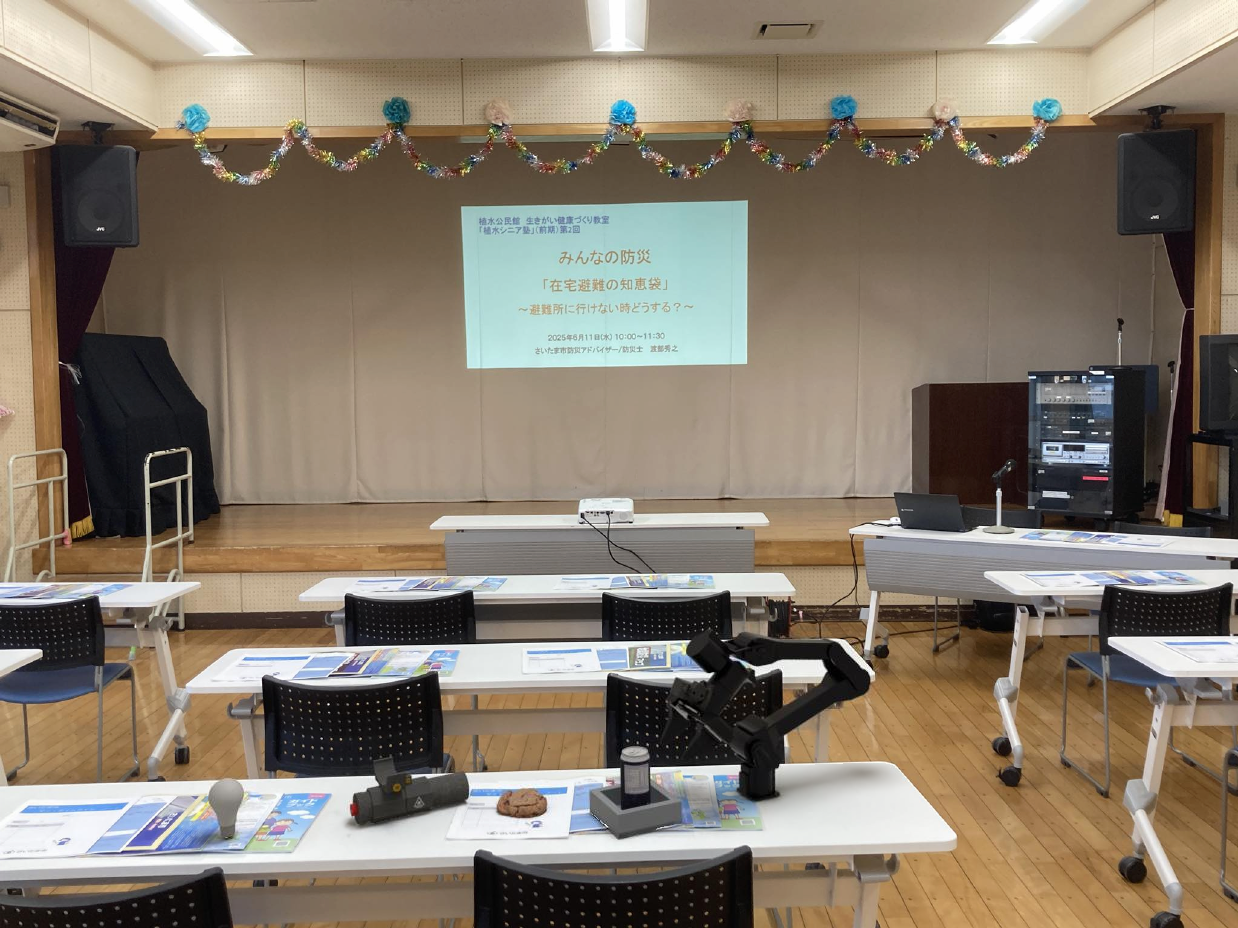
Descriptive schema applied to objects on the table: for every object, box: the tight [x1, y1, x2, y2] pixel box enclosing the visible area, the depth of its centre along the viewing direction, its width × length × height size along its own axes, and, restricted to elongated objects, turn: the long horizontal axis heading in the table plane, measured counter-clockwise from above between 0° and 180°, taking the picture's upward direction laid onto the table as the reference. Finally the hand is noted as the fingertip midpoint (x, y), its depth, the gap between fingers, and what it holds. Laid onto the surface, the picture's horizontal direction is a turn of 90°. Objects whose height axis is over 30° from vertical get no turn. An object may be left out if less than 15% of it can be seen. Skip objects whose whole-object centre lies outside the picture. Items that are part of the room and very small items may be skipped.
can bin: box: [589, 777, 683, 840], centre depth 183 cm, size 13×13×4 cm
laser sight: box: [349, 756, 470, 826], centre depth 188 cm, size 10×22×10 cm, turn 119°
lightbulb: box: [207, 777, 245, 838], centre depth 178 cm, size 6×6×11 cm
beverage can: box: [619, 746, 651, 810], centre depth 182 cm, size 6×6×12 cm
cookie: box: [496, 787, 548, 819], centre depth 189 cm, size 10×11×3 cm
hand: (672, 751), depth 185 cm, fingers open, 9 cm apart
